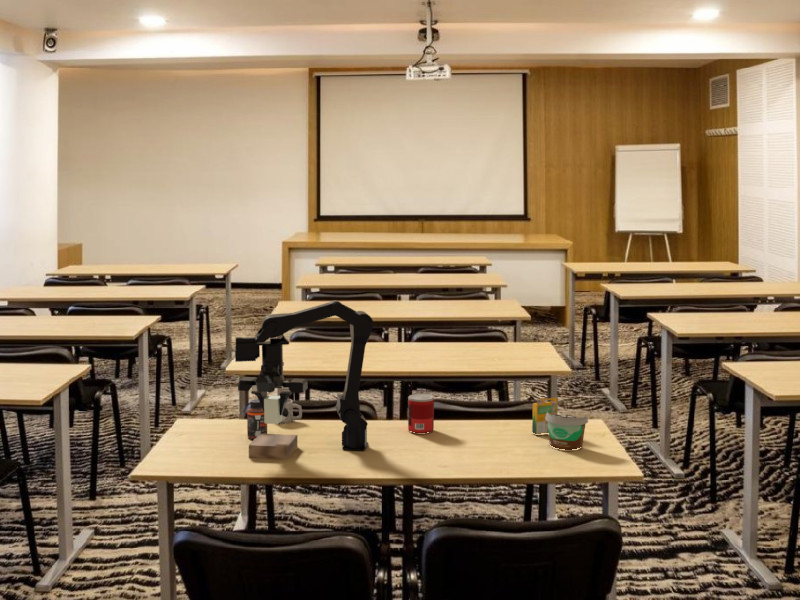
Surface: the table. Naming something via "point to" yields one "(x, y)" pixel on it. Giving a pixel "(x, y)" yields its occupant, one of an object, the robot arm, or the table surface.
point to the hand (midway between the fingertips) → (273, 414)
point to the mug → (290, 412)
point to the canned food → (421, 413)
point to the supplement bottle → (255, 420)
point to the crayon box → (543, 414)
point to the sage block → (272, 410)
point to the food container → (566, 431)
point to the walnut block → (273, 446)
